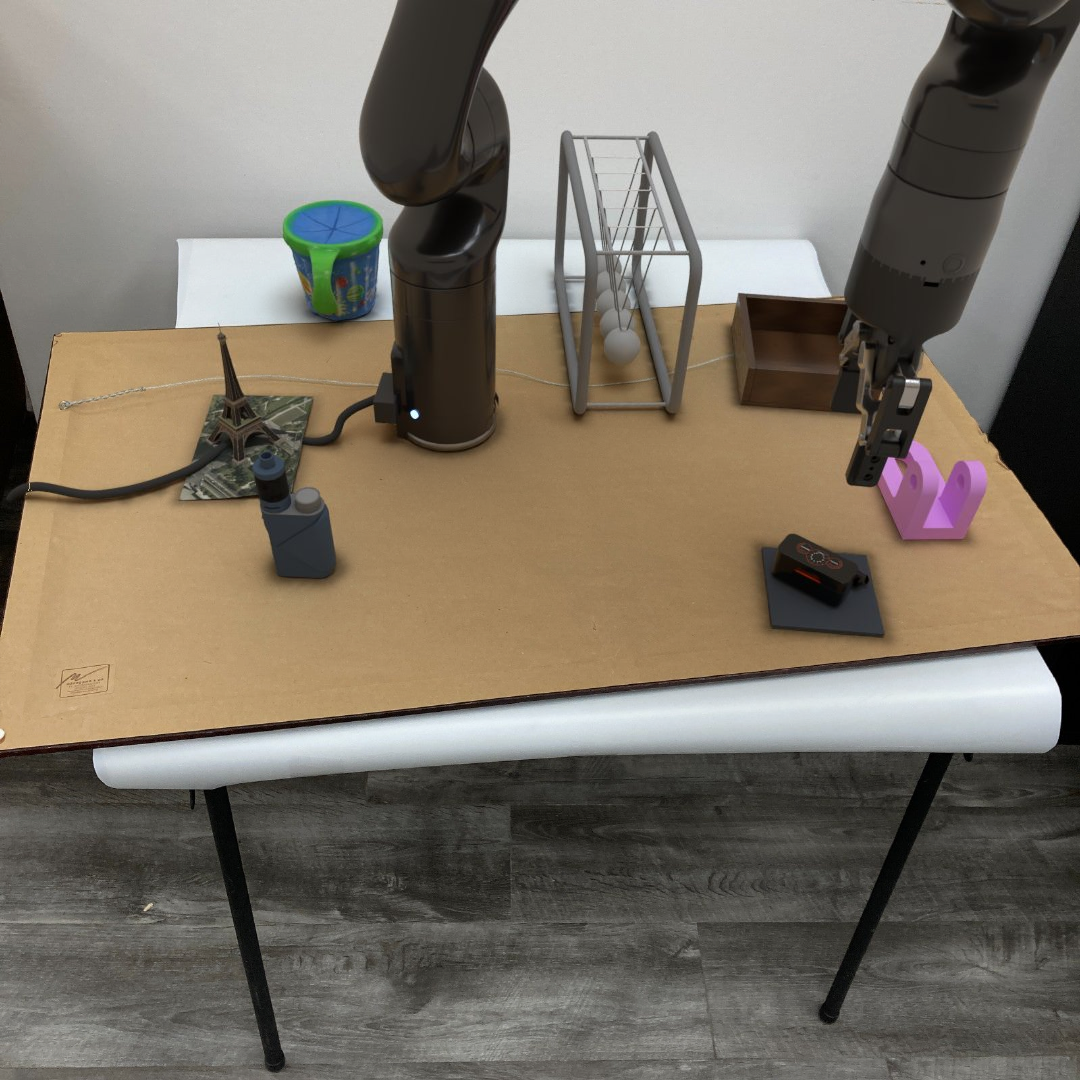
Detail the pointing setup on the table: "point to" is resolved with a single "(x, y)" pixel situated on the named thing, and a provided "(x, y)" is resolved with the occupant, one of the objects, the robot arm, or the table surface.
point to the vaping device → (294, 522)
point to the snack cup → (336, 255)
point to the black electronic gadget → (816, 570)
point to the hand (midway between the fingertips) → (851, 445)
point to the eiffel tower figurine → (245, 437)
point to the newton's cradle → (607, 278)
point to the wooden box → (788, 350)
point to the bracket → (932, 495)
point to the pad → (822, 604)
